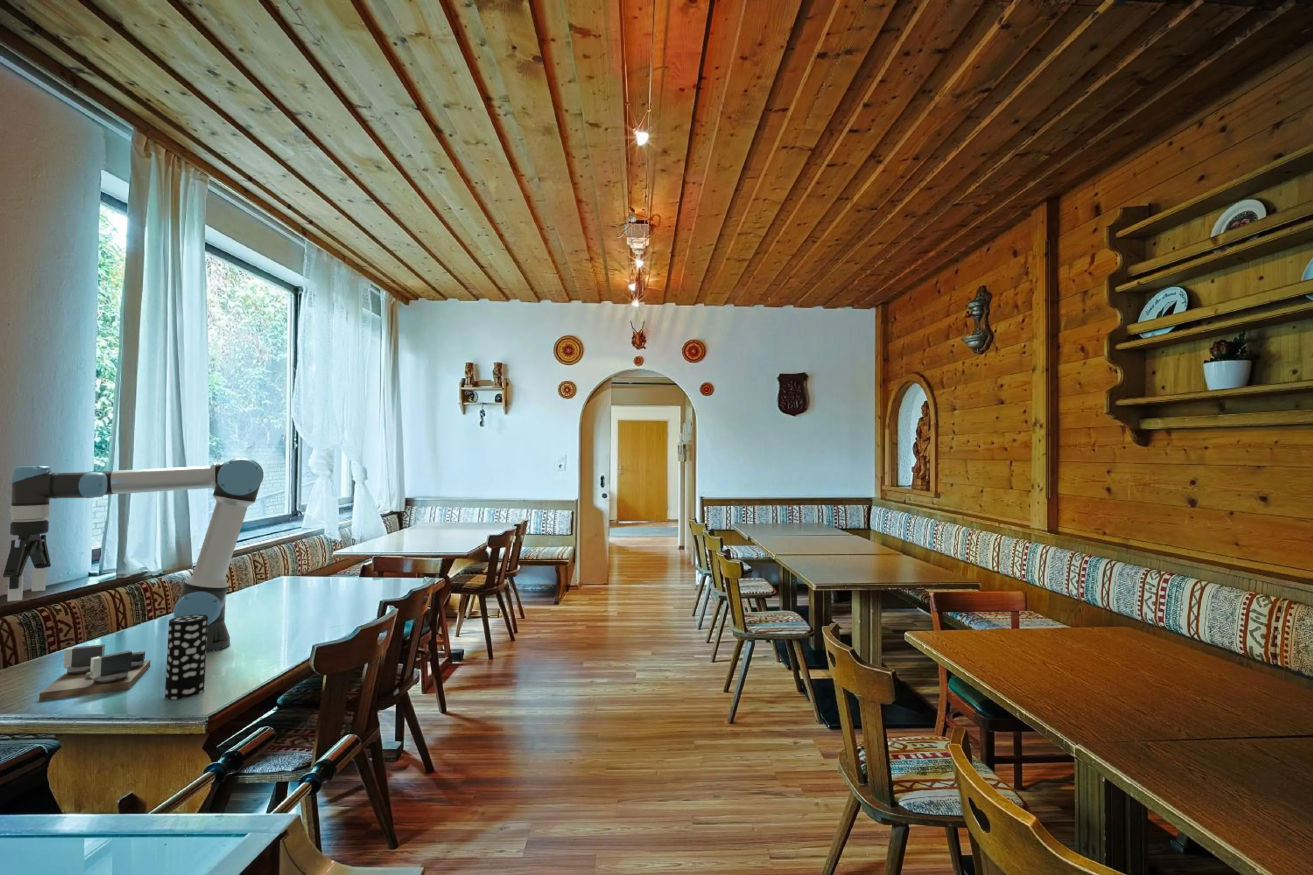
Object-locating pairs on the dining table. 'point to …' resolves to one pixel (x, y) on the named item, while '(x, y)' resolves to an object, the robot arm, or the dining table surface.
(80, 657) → the knob
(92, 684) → the base
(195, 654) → the white-spotted black cylinder
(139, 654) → the knob
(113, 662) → the knob
